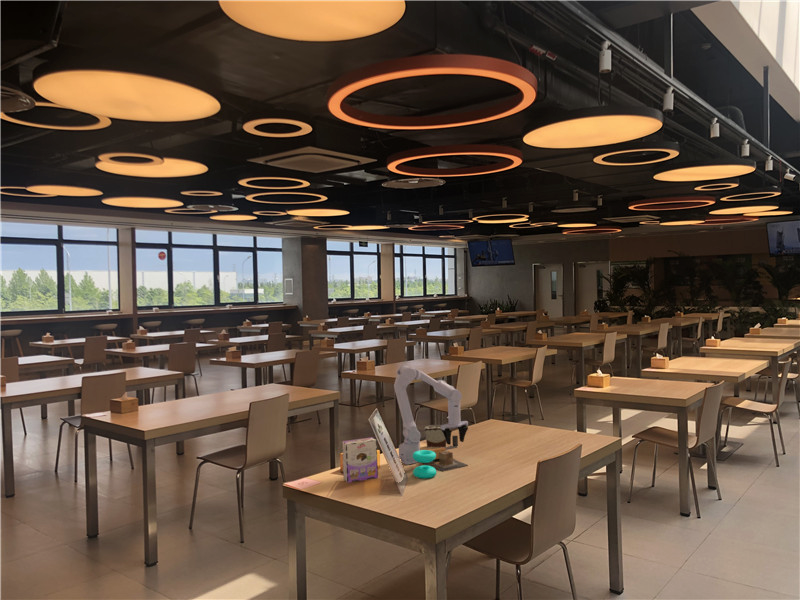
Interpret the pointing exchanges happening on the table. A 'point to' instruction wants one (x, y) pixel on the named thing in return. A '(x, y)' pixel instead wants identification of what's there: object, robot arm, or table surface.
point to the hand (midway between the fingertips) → (455, 442)
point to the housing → (445, 457)
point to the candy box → (360, 459)
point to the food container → (434, 436)
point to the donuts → (424, 470)
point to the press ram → (455, 444)
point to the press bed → (442, 467)
